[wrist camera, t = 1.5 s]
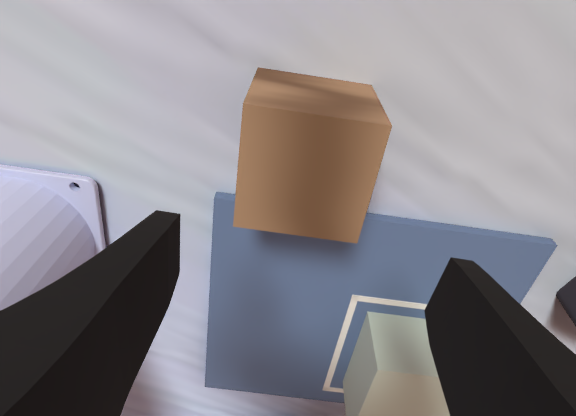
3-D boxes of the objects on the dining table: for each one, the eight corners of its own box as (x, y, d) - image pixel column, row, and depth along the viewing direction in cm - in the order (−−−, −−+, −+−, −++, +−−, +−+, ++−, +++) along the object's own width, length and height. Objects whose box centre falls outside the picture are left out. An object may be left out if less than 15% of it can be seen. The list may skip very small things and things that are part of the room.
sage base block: (342, 381, 28) (347, 440, 24) (367, 311, 24) (377, 369, 21) (440, 393, 28) (459, 453, 25) (480, 325, 24) (508, 385, 21)
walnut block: (248, 169, 20) (232, 226, 16) (258, 66, 17) (243, 103, 13) (346, 183, 20) (357, 243, 16) (371, 84, 18) (391, 125, 13)
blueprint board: (206, 379, 29) (204, 387, 29) (216, 191, 21) (214, 198, 20) (446, 407, 30) (449, 416, 30) (551, 238, 22) (557, 246, 21)
